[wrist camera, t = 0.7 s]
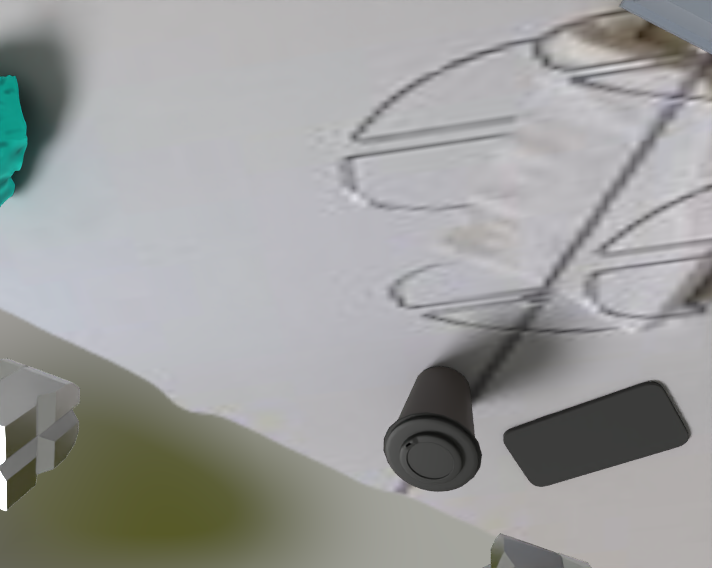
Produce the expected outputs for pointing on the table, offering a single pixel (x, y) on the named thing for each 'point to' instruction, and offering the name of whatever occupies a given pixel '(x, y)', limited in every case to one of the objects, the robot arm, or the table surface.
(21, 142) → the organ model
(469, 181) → the table surface
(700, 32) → the stand
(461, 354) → the table surface
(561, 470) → the phone
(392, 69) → the table surface
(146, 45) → the table surface
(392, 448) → the coffee cup
